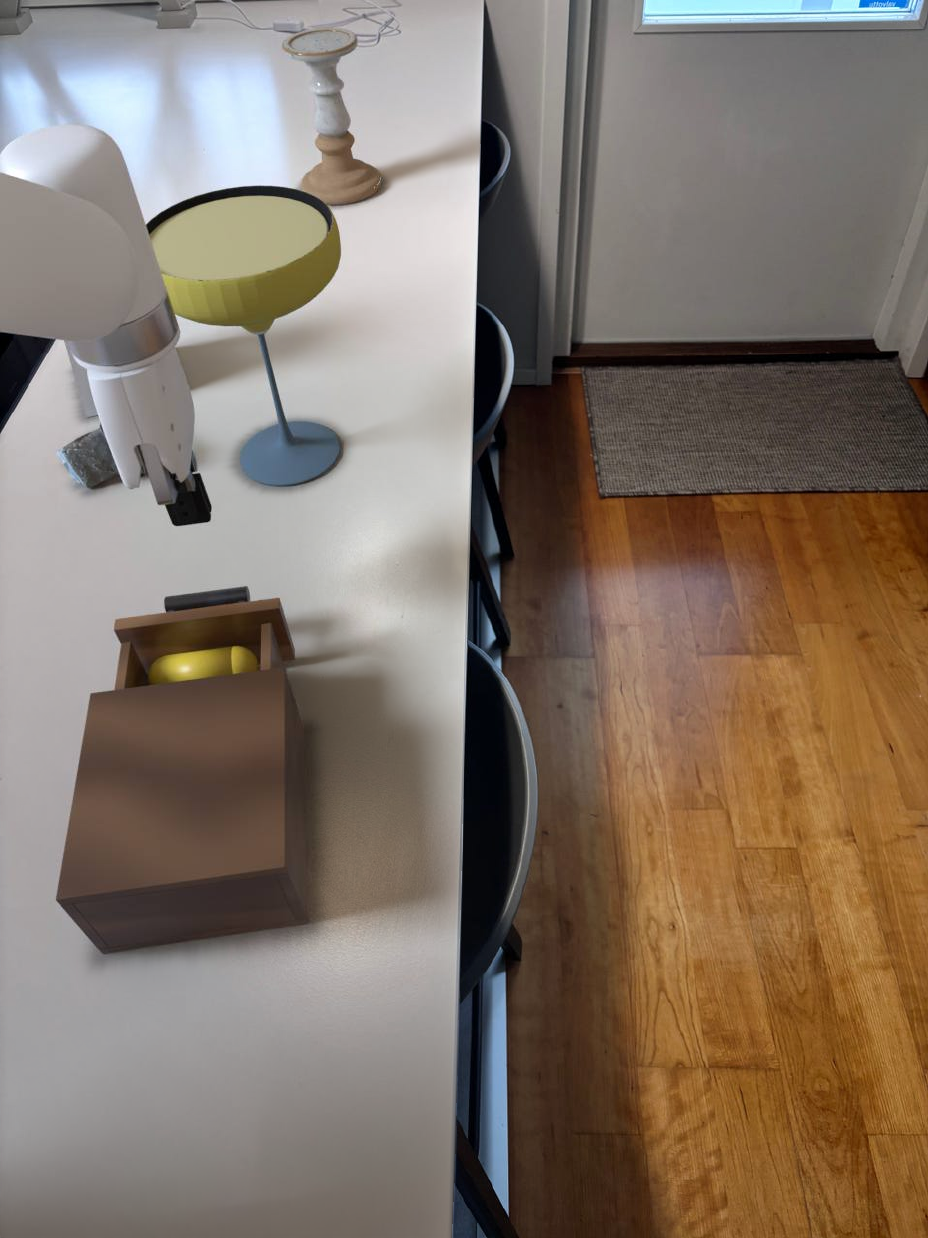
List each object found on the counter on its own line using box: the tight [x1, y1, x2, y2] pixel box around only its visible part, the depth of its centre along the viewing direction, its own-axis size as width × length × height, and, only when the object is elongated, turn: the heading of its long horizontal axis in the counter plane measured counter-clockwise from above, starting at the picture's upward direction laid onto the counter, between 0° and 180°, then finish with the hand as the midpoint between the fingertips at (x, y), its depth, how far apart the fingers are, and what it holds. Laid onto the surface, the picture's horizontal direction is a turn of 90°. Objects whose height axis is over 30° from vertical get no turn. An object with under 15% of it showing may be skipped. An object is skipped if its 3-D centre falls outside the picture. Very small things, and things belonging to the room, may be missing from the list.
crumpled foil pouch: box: [56, 422, 146, 489], centre depth 102 cm, size 10×7×12 cm
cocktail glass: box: [145, 185, 342, 487], centre depth 93 cm, size 18×18×25 cm
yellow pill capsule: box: [148, 646, 260, 685], centre depth 78 cm, size 9×4×4 cm, turn 97°
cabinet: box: [55, 666, 310, 954], centre depth 69 cm, size 17×15×9 cm
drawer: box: [113, 585, 296, 690], centre depth 76 cm, size 20×13×7 cm
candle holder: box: [281, 27, 382, 206], centre depth 137 cm, size 12×12×20 cm
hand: (193, 517), depth 80 cm, fingers closed
